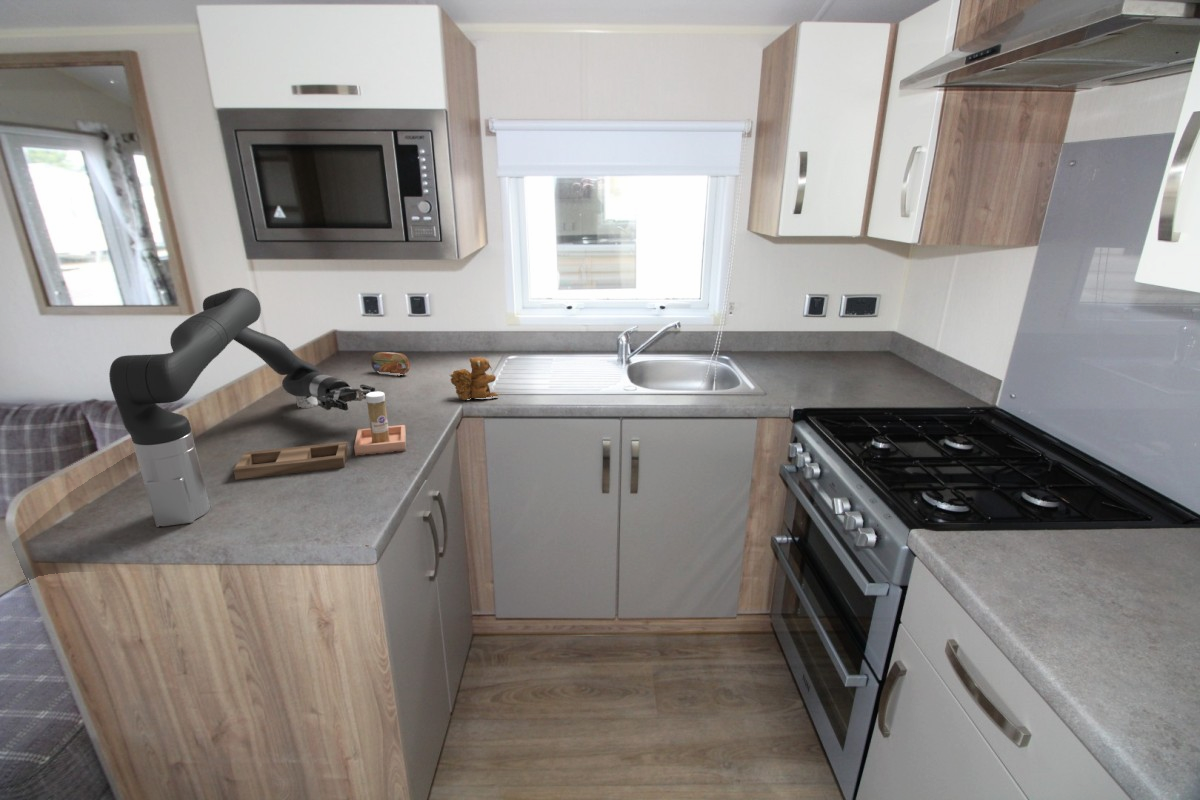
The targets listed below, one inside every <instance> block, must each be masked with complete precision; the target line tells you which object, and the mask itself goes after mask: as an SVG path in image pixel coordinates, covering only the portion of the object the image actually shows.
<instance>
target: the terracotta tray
mask: <svg viewBox="0 0 1200 800" xmlns="http://www.w3.org/2000/svg"><path fill="white" fill-rule="evenodd" d="M388 432H389V438H390V441H389V442H382V443H372V435H371V431H370V427H369V428H359V429H357V432H356V437H355V441H354V445H353V449H354V455H355V457H358V456H357V455H361V456H366V455H365V454H370V455H377V454H376V453H379V454H385V452H388V453H394V451H397V452H404V451H407V446H406V445H407V444H406V443H407V439H406V438H407V433H406V432H407V431H406V424H401V425H388Z"/></svg>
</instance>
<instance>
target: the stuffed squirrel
mask: <svg viewBox="0 0 1200 800" xmlns="http://www.w3.org/2000/svg"><path fill="white" fill-rule="evenodd" d="M469 362H470V367H471V372H470V371H469V370H467V369H466V368H462V369H457V370H454V371H453V372H452V374H449V376H450V382H451V384H452V385H454V386H455V393H456V395H457V397H458V398H459V399H460V400H462V401H465V400H467V399H470V398H486V397H491V396H492V397H493V396H498V397H499V394H498V393H497V392H491V390H490V385H489V384H490V383H493V382H495V381H496V378H497V377H496V375H494V374H488V373H486V372H488V370H489V369H490V371H492V369H493V368H492V366H491V364H490V362H489V360H487V359H486V358H484V357H479V356H478V357H474V358H473V357H470V358H469Z"/></svg>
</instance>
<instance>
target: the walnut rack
mask: <svg viewBox="0 0 1200 800" xmlns="http://www.w3.org/2000/svg"><path fill="white" fill-rule="evenodd" d="M335 454H336V455H335ZM348 454H349V444H348V441H339V442H333V443H332V442H331V443H322V444H312V445H311V444H309V445H302V446H293V447H292V446H291V447H282V448H273V449H272V448H271V449H263V450H252V451H245V452H244V453H243V454H242V455H241V457H240V459H239V461H238V462H237V463H236V464H235V466H234V467H233V475H234V478H235V479H234V480H243V479H244V480H245V479H251V478H253V479H254V478H261V477H271V476H278V475H279V476H280V475H287V474H295V473H297V474H298V473H304V472H313V471H323V470H332V469H333V470H334V469H341V467H342V468H345V467H346V463H347V458H348ZM327 455H328V456H327ZM345 462H346V463H345Z"/></svg>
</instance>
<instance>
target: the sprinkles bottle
mask: <svg viewBox="0 0 1200 800" xmlns="http://www.w3.org/2000/svg"><path fill="white" fill-rule="evenodd" d="M365 396H366V399H365V400H366V401H365V402H366V404H367V410H368V411H367V412H368V421H369V428H370V431H371V435H372V443H382V442H389V441H390V438H389V432H388V426H389V424H388V423H389V422H388V415H387V408H386V395H385V392H382V391H375V392H370V393H368V394H366V395H365Z"/></svg>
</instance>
